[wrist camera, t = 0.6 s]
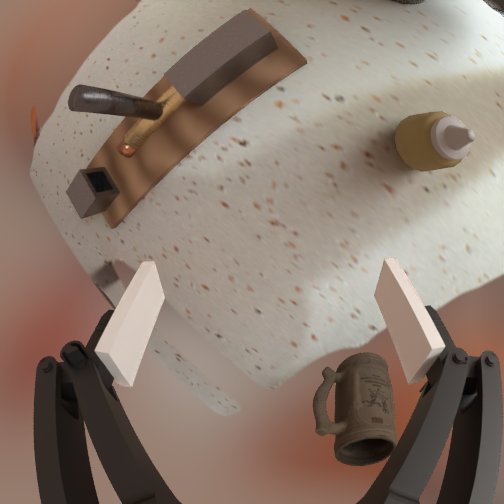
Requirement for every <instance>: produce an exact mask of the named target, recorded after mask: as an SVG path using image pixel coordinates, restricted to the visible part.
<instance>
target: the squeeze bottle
mask: <svg viewBox="0 0 504 504" xmlns="http://www.w3.org/2000/svg"><path fill="white" fill-rule="evenodd" d="M474 139H475V134H474V132H473V131H472V130H471V129H468V128H466V126H465V125H464V124H463V123H462V122H461V121H460V120H459V119H457V118H455V117H453V116H451V115H449V114H447V113H444V112H442V111H441V112H429V113H423V114H417V115H412V116H408V117H407V118H405V119H404V120H402V121H401V122H400V124H399V126H398V127H397V129H396V135H395V144H396V148H397V152H398V154H399V155H400V157H401V158H402V160H403V162H405V163H406V164H407V165H408V166H409V167H411V168H412V169H415V170H418V171H421V172H423V171H430V170H436V169H442V168H448V167H454V166H455V165H457V164H458V163H460V162H461V160H462V159H463V157H465V156H466V155H467V153H468V151H469V149H470V143H471V142H472V141H474Z"/></svg>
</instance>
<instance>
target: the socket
mask: <svg viewBox="0 0 504 504" xmlns="http://www.w3.org/2000/svg"><path fill="white" fill-rule="evenodd" d="M66 192H67V194H68V196H69V198H70V200H71V202H72V203H73V205H74V207H75V209H76V211H77V213H78V214H79V216H80V218H81V219H82V218H86V217H89V216H92V215H95V214H98V213H101V212H105V211H106V210H107V208H108V207H109V206H110V205H111V203H112V202H113V201H114V200H115V198H116V197H117V196H118V195H119V194H120V191H119V189H118V188H117V186H116V184H115V183H114V181H113V180H112V178H111V176H110V175H109V173H108V171H107V170H106V168H105V167H98V168H90V169H82V170H79V172H78V173H77V175H76V176H75V178H74V180H73V181H72V183H71V184H70V186H69V188H68V189H67V191H66Z"/></svg>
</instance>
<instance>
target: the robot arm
mask: <svg viewBox="0 0 504 504" xmlns="http://www.w3.org/2000/svg"><path fill="white" fill-rule="evenodd" d="M392 1H396V2H400V3H406V4H417V3H421V2H423V1H425V0H392ZM483 1H484V2H486V3H487V4H488V5H489V6H490V7H491V8H492V9H494V10H495V11H497V12H498V13H500V14H501V15H502V16H503V17H504V0H483ZM374 296H375V299H376V301H377V303H378V306H379V308H380V310H381V313H382V315H383V318H384V320H385V322H386V325H387V327H388V330H389V332H390V335H391V338H392V340H393V342H394V345H395V348H396V351H397V353H398V356H399V359H400V362H401V365H402V367H403V370H404V373H405V376H406V379H407V382H408V384H412V383H416V382H420V381H421V380H422V379H423V378H424V376H425V375H426V376H427V379H428V381H427V382H426V383H425V385H424V386H423V387H422V388H421V390H420V391H419V392H422V394H421V396H420V399H419V401H418V403H417V406H416V408H415V410H414V412H413V414H412V416H411V419H410V420H409V423H408V425H407V427H406V429H405V431H404V432H403V434H402V436H401V438H400V440H399V442H398V444H397V446H396V447H395V449H394V451H393V453H392V454H391V456H390V458H389V459H388V461H387V463H386V464H385V466H384V468H383V470H382V471H381V472H380V474H379V475H378V477H377V479H376V480H375V481H374V483H373V485H372V486H371V488H370V489H369V490H368V492H367V493H366V494H365V496H364V497H363V498H362V499H361V500H360V501H358V502H357V503H356V504H420V503H419V498H420V496H421V494H422V492H423V491H424V488H425V487H426V485H427V483H428V481H429V479H430V477H431V475H432V473H433V471H434V469H435V467H436V465H437V463H438V460H439V458H440V456H441V453H442V451H443V449H444V446H445V443H446V441H447V439H448V436H449V433H450V431H451V428H452V425H453V431H452V438H451V444H450V450H449V456H448V461H447V466H446V470H445V475H444V479H443V483H442V486H441V490H440V494H439V497H438V500H437V504H492V502H493V498H494V494H495V489H496V483H497V478H498V472H499V464H500V456H501V445H502V427H503V403H502V383H501V372H500V363H499V359H498V357H497V355H496V354H494V353H493V352H492V351H484V352H483V353H482V354H481V356H480V357H472V356H468V354H467V353H466V352H465V351H464V350H463V349H461V348H457V347H455V345H454V343H453V341H452V339H451V337H450V335H449V333H448V331H447V330H446V327H445V326H444V324H443V322H442V321H441V318H440V317H439V315H438V313H437V312H436V311H435V310H434V309H433V308H432V307H431V306H424V305H423V303H422V301H421V299H420V298H419V296H418V294H417V292H416V291H415V289H414V287H413V286H412V284H411V282H410V281H409V279H408V277H407V276H406V274H405V273H404V271H403V269H402V268H401V266H400V265H399V263H398V262H397V260H396V259H384V262H383V266H382V270H381V273H380V277H379V280H378V284H377V287H376V291H375V294H374ZM164 299H165V296H164V293H163V290H162V286H161V283H160V279H159V276H158V272H157V269H156V265H155V262H142V264H141V265H140V267H139V269H138V270H137V272H136V274H135V276H134V277H133V279H132V281H131V283H130V285H129V286H128V288H127V289H126V291H125V293H124V295H123V297H122V298H121V300H120V302H119V304H118V306H117V307H116V309H115V310H108V311H107V312H106V313H105V314H104V315H103V316H102V317H101V319H100V321H99V323H98V325H97V326H96V328H95V331H94V332H93V334H92V336H91V338H90V340H89V342H88V344H87V345H86V347H84V345H83V344H82V343H81V342H79V341H71V342H69V343H67V344H66V345H65V346H64V347H63V348H62V350H61V353H60V357H61V358H62V360H63V361H64V362H59V363H58V362H57V361H56V359H55V358H54V357H51V356H47V357H45V358H43V359H42V360H40V362H39V363H38V366H37V371H36V381H35V395H34V396H35V397H34V450H35V461H36V462H35V463H36V472H37V480H38V487H39V493H40V498H41V503H42V504H99V501H98V498H97V494H96V490H95V485H94V481H93V477H92V472H91V467H90V462H89V456H88V450H87V444H86V436H85V428H84V421H85V424H86V427H87V430H88V432H89V435H90V438H91V440H92V443H93V445H94V447H95V449H96V452H97V455H98V457H99V459H100V461H101V463H102V466H103V468H104V470H105V472H106V474H107V476H108V478H109V480H110V482H111V484H112V486H113V488H114V490H115V491H116V493H117V495H118V497H119V498H120V500H121V502H122V504H182V503H181V502H179V501H178V500H177V499H176V497H175V496H174V494H173V493H172V491H171V490H170V489H169V487H168V486H167V484H166V483H165V481H164V480H163V478H162V477H161V476H160V474H159V472H158V471H157V470H156V468H155V466H154V465H153V463H152V461H151V460H150V458H149V456H148V454H147V453H146V451H145V449H144V448H143V446H142V444H141V442H140V441H139V439H138V437H137V435H136V433H135V431H134V429H133V427H132V425H131V423H130V421H129V420H128V417H127V415H126V414H125V411H124V409H123V407H122V405H121V403H120V400H119V398H118V396H117V394H116V391H115V389H114V387H113V386H112V382H113V380H114V379H115V381H116V382H117V383H118V385H122V386H127V387H132V386H133V383H134V380H135V377H136V374H137V371H138V367H139V365H140V362H141V359H142V357H143V354H144V351H145V348H146V346H147V343H148V340H149V337H150V335H151V332H152V329H153V327H154V324H155V322H156V319H157V316H158V314H159V311H160V309H161V306H162V304H163V301H164ZM422 390H423V391H422ZM453 422H454V423H453Z"/></svg>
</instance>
